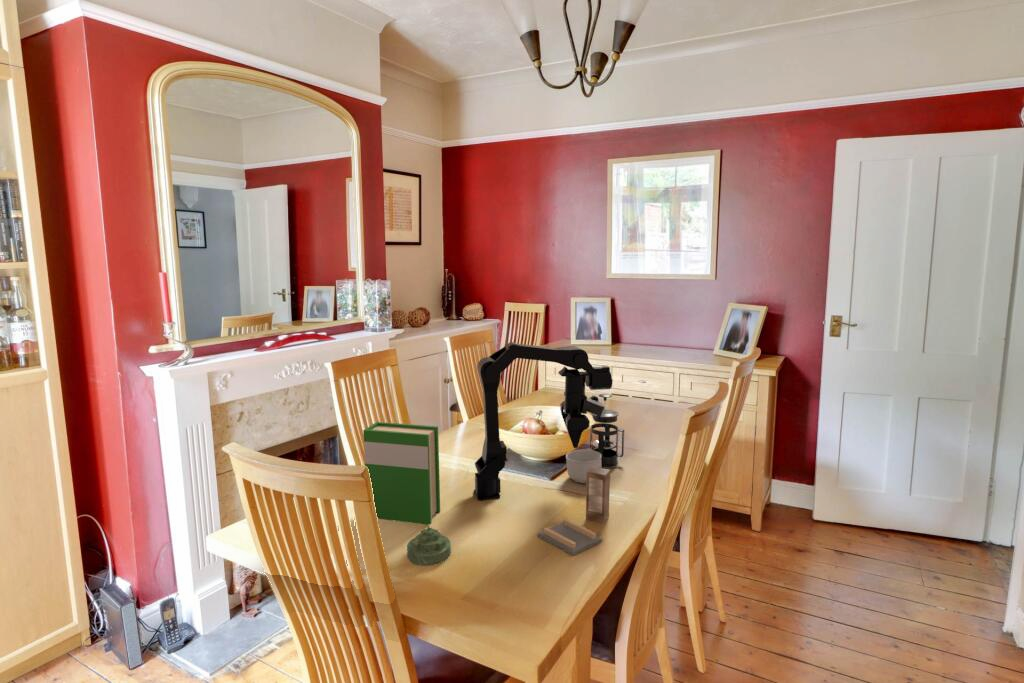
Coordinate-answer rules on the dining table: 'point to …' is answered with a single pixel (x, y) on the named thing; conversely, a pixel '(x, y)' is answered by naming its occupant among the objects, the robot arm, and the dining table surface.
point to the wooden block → (597, 494)
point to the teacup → (582, 463)
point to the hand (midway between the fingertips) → (573, 442)
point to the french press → (606, 436)
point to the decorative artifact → (428, 548)
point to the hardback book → (403, 470)
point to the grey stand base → (570, 537)
